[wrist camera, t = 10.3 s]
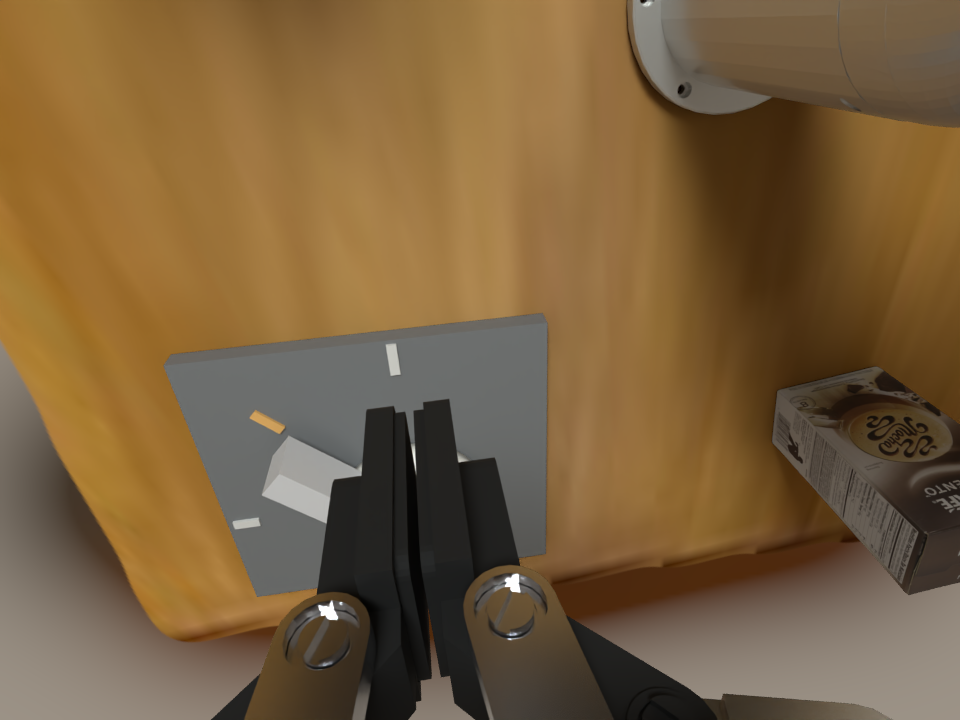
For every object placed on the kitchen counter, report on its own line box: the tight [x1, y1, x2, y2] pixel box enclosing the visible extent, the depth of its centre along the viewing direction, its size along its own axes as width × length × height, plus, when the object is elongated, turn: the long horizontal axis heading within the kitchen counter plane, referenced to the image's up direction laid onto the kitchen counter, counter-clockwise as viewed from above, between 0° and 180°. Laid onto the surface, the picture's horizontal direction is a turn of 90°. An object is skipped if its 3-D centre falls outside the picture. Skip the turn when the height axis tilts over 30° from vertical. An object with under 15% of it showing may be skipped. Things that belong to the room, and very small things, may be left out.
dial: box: [262, 436, 472, 524], centre depth 43 cm, size 18×12×5 cm, turn 50°
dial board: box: [164, 313, 547, 597], centre depth 45 cm, size 26×24×2 cm
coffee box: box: [772, 367, 960, 595], centre depth 42 cm, size 9×6×16 cm
